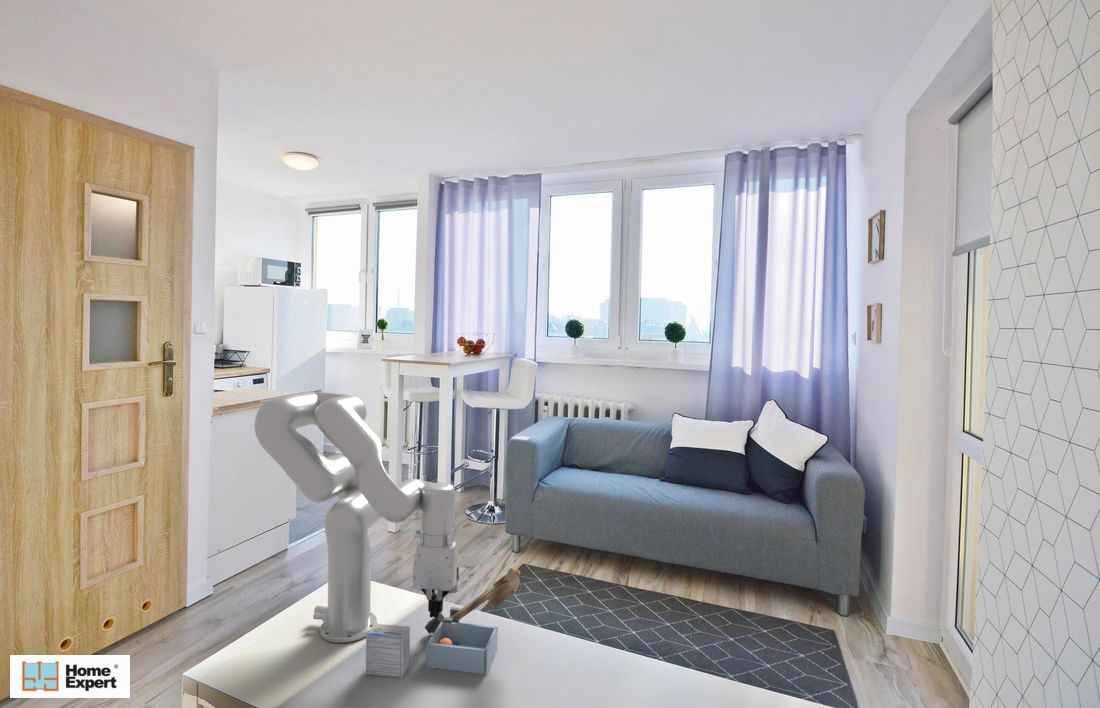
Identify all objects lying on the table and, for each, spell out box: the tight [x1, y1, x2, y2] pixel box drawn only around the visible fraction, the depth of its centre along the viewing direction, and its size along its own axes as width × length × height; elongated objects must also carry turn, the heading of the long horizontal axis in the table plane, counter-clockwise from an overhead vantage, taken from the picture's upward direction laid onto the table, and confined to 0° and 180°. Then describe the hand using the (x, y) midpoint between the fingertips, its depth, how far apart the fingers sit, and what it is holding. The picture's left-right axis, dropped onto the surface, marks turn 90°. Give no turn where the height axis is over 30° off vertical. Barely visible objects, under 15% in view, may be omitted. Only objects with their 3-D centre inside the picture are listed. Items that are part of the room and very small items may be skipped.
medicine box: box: [365, 623, 411, 679], centre depth 110 cm, size 8×4×9 cm, turn 84°
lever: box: [424, 567, 522, 635], centre depth 117 cm, size 27×11×3 cm
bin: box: [425, 621, 499, 675], centre depth 115 cm, size 13×9×5 cm
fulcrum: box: [444, 606, 461, 645], centre depth 122 cm, size 6×7×6 cm
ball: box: [438, 638, 452, 645], centre depth 115 cm, size 3×3×3 cm
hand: (435, 614), depth 123 cm, fingers closed
